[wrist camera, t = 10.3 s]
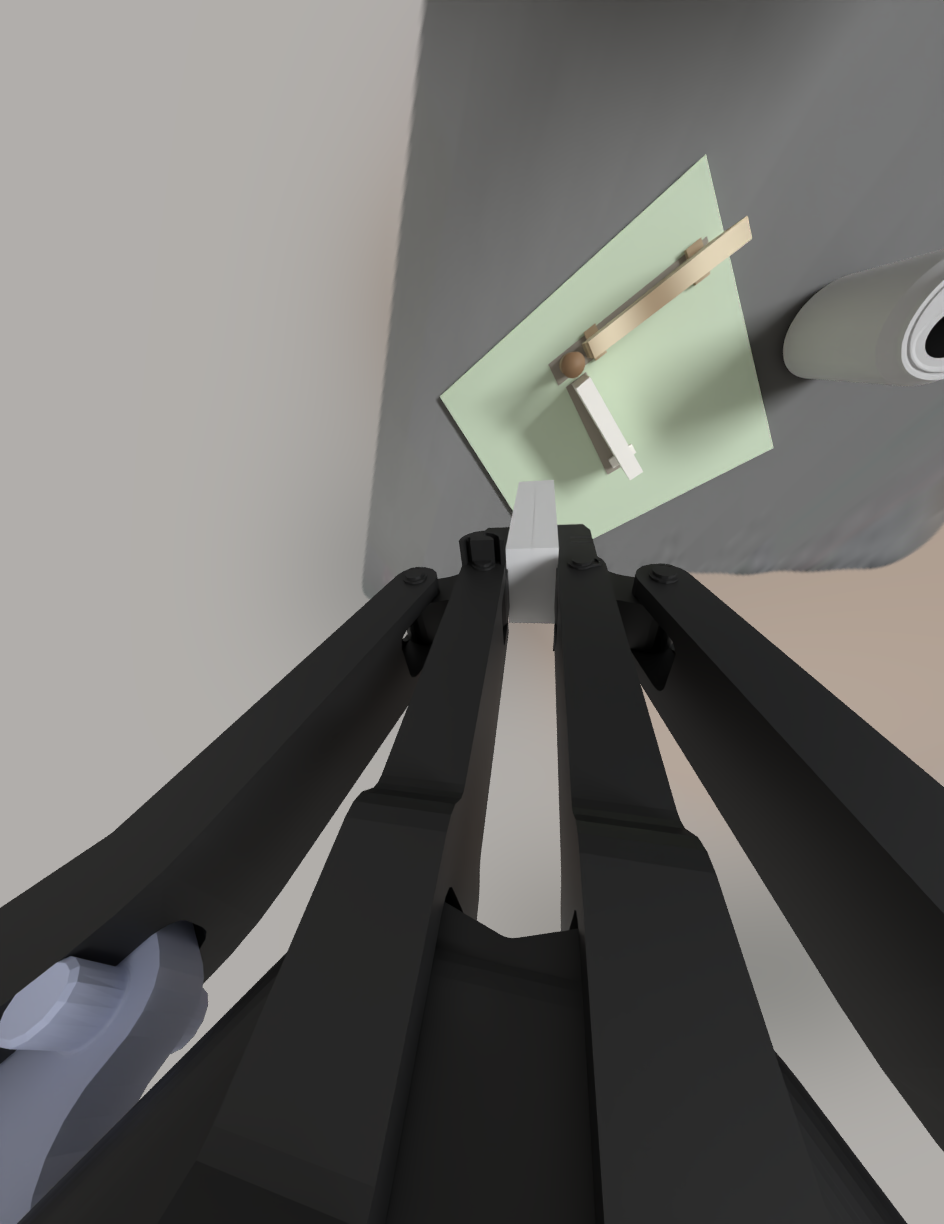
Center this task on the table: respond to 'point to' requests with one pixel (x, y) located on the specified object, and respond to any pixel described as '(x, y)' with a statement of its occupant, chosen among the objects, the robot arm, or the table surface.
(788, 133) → the table surface
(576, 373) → the fence fixed
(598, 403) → the panel
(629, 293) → the card
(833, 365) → the beverage can
